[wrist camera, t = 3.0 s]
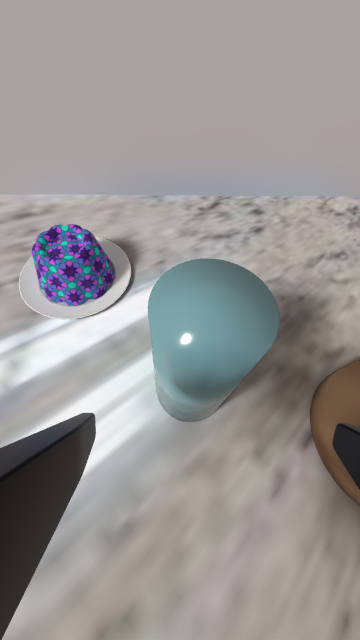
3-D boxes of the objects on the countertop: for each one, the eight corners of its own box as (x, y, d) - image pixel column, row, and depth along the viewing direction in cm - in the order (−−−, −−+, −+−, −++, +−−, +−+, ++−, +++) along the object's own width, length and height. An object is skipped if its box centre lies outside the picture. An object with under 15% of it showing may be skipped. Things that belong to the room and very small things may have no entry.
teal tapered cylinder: (235, 403, 22) (307, 337, 11) (173, 434, 21) (182, 395, 9) (203, 346, 25) (235, 246, 14) (146, 370, 23) (129, 279, 12)
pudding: (20, 250, 30) (-5, 212, 26) (120, 232, 33) (112, 195, 28) (23, 336, 25) (-8, 306, 20) (143, 306, 27) (139, 274, 23)
